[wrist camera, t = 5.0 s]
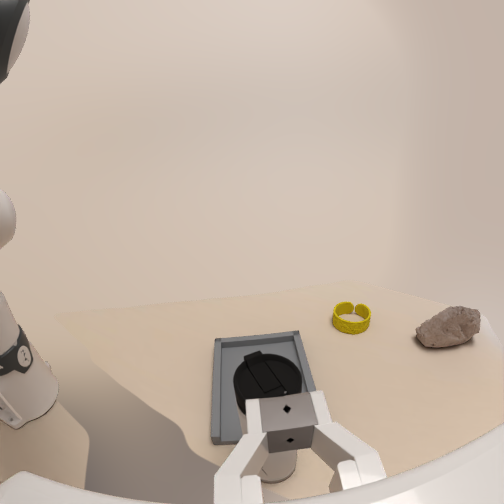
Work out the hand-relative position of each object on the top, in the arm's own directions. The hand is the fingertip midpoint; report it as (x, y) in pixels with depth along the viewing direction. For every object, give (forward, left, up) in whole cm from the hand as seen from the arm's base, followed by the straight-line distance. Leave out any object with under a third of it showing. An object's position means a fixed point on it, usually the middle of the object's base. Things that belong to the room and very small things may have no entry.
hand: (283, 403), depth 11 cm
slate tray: (0, +26, -30) cm, 40 cm away
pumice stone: (+38, +29, -30) cm, 57 cm away
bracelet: (+20, +40, -31) cm, 54 cm away
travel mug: (0, +11, -30) cm, 32 cm away
